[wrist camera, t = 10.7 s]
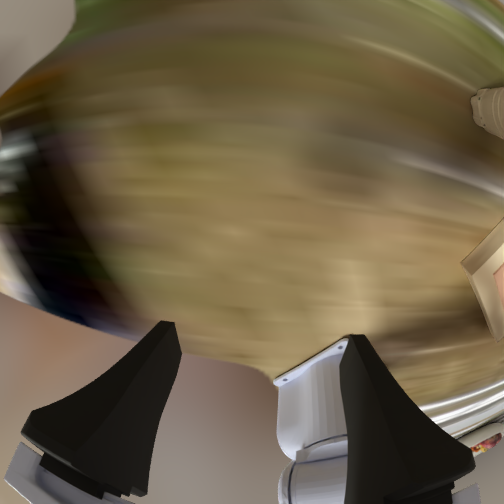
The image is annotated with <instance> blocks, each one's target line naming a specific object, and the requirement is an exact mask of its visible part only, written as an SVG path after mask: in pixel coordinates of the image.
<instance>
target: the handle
mask: <svg viewBox="0 0 504 504" xmlns="http://www.w3.org/2000/svg"><path fill="white" fill-rule="evenodd" d="M470 103H471V105H472V108H473V119H474V122H475V123H476V124H477V125H479V126H481V127H484V128H485V130H486V131H487V132H489V133H490V134H493V135H496V136H498V137H500V138H502V139H504V87H499V88H494V89H489V88H486V89H480V90H478V91H477V95H476V96H472V97H471V102H470Z"/></svg>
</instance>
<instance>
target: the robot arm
mask: <svg viewBox="0 0 504 504" xmlns="http://www.w3.org/2000/svg"><path fill="white" fill-rule="evenodd" d="M181 355H182V352H181V348H180V344H179V340H178V336H177V332H176V328H175V323H174V322H169V321H162V320H161V321H160V322H159V323H158V324H157V325H156V326H155V327H154V328H153V329H152V330H151V331H150V332H149V333H148V334H147V335H146V336H145V337H144V338H143V339H142V340H141V341H140V342H139V343H138V344H137V345H135V346H134V347H133V348H132V349H131V350H130V351H129V352H128V353H127V354H126V355H125V356H124V357H123V358H122V359H120V360H119V361H118V362H117V363H116V364H115V365H113V366H112V367H111V368H110V369H109V370H107V371H106V372H105V373H104V374H102V375H101V376H100V377H98V378H97V379H95V380H94V381H93V382H91V383H90V384H88V385H86V386H85V387H83V388H81V389H80V390H78V391H76V392H75V393H73V394H71V395H69V396H67V397H65V398H63V399H61V400H59V401H57V402H55V403H52V404H50V405H47V406H44V407H42V408H39V409H36V410H33V411H32V412H31V413H30V415H29V417H28V419H27V421H26V423H25V424H24V427H23V428H22V431H21V434H22V435H23V436H24V437H25V438H26V439H27V440H28V441H30V442H31V443H32V444H34V445H35V446H36V447H37V448H39V449H40V450H42V451H43V452H44V454H43V456H41V455H39V454H38V453H36V452H35V451H34V450H32V449H31V448H29V447H28V446H27V445H25V444H24V443H22V442H20V443H19V445H18V447H17V449H16V451H15V454H14V456H13V458H12V461H11V463H10V465H9V467H8V470H7V472H6V475H5V477H4V480H5V481H6V482H7V483H8V484H9V485H10V486H12V487H13V488H14V489H15V490H16V491H17V492H18V493H19V494H21V495H22V496H23V497H24V498H25V499H26V500H28V501H29V502H30V503H31V504H135V503H132V502H129V501H127V500H124V499H122V498H120V497H121V494H123V495H125V496H128V497H129V496H130V494H133V495H136V496H139V497H142V496H145V495H147V492H148V480H149V471H150V464H151V458H152V453H153V448H154V442H155V438H156V434H157V429H158V425H159V421H160V418H161V415H162V412H163V410H164V407H165V404H166V402H167V399H168V397H169V394H170V391H171V389H172V386H173V384H174V381H175V378H176V376H177V372H178V368H179V364H180V360H181ZM274 385H276V386H278V387H279V400H278V420H277V438H278V442H279V444H280V447H281V449H282V451H283V452H284V453H285V454H286V455H287V456H288V457H289V458H291V459H292V460H293V461H290V462H289V463H288V464H287V466H286V467H285V469H284V470H283V471H282V473H281V476H280V479H279V484H278V499H279V504H481V501H480V493H479V488H478V483H475V484H473V485H471V486H469V487H467V488H465V489H463V490H461V491H458V492H456V493H454V494H451V490H452V489H453V488H454V487H455V486H454V481H456V480H458V479H459V478H461V477H463V476H465V475H466V474H468V473H470V472H471V471H472V470H474V469H475V467H476V465H475V461H474V457H473V453H472V450H471V448H469V447H467V446H466V445H464V444H462V443H461V442H459V441H458V440H456V439H455V438H453V437H452V436H450V435H449V434H448V433H446V432H445V431H444V430H443V429H441V428H440V427H439V426H438V425H437V424H435V423H434V422H433V421H432V420H431V419H430V418H429V417H428V416H427V415H425V414H424V413H423V412H422V411H421V410H420V409H419V407H418V406H417V405H416V404H415V403H414V402H413V401H412V400H411V399H410V398H409V396H408V395H407V394H406V393H405V392H404V390H403V389H402V388H401V386H400V385H399V384H398V383H397V381H396V380H395V379H394V377H393V376H392V374H391V373H390V372H389V370H388V369H387V367H386V366H385V365H384V363H383V362H382V360H381V359H380V357H379V356H378V354H377V353H376V351H375V350H374V348H373V347H372V345H371V343H370V342H369V340H368V339H367V337H366V336H365V335H364V334H361V335H350V337H349V339H348V338H343V339H341V340H340V341H338V342H337V343H335V344H334V345H332V346H331V347H329V348H327V349H326V350H324V351H323V352H321V353H319V354H318V355H316V356H314V357H313V358H311V359H310V360H308V361H306V362H304V363H303V364H301V365H299V366H298V367H296V368H294V369H292V370H291V371H289V372H287V373H285V374H283V375H282V376H280V377H278V378H276V379H274Z"/></svg>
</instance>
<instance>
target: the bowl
mask: <svg viewBox="0 0 504 504" xmlns="http://www.w3.org/2000/svg"><path fill="white" fill-rule="evenodd" d="M503 435H504V425H503V424H501V423H491V424H488V425H486V426H483V427H481V428H479V429H477V430H475V431H473V432H471V433H469V434H467V435H465V436H463V437H461V438H459V439H457V440H458V441H459V442H461V443H462V444H464V445H466V446H467V447H469V448H471V450H472V453H473V457H475V456H477V455H478V454H480V453H481V452H486V451H487V450H488V449H489V448H492V447H494V446H495V445H496V444H497V443H498V442H499V441H500V440H501V438H502V436H503Z"/></svg>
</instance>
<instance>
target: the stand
mask: <svg viewBox="0 0 504 504" xmlns="http://www.w3.org/2000/svg"><path fill="white" fill-rule="evenodd" d="M461 265H462V267H463V269H464V271H465V273H466V275H467V277H468V279H469V281H470V284H471V286H472V288H473V290H474V293H475V295H476V297H477V299H478V302H479V304H480V307H481V309H482V312H483V314H484V317H485V319H486V322H487V325H488V328H489V330H490V333H491V334H492V336H493V338H494V339H495V341H496V343H498V342H499V341H500V340H501V339H502V338H503V337H504V218H503V219H502V220H501V222H500V223H499V224H498V225H497V226H496V227H495V228H494V229H493V230H492V232H491V233H490V234H489V235H488V236H487V237H486V238H485V239H484V240H483V241H482V242H481V243H480V244H479V245H478V246H477V247H476V248H475V249H474V250H473V251H472V252H471V253H470V254H469V255H468V256H467V257H466V258H465V259H464V260H463V261H462V262H461Z"/></svg>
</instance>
